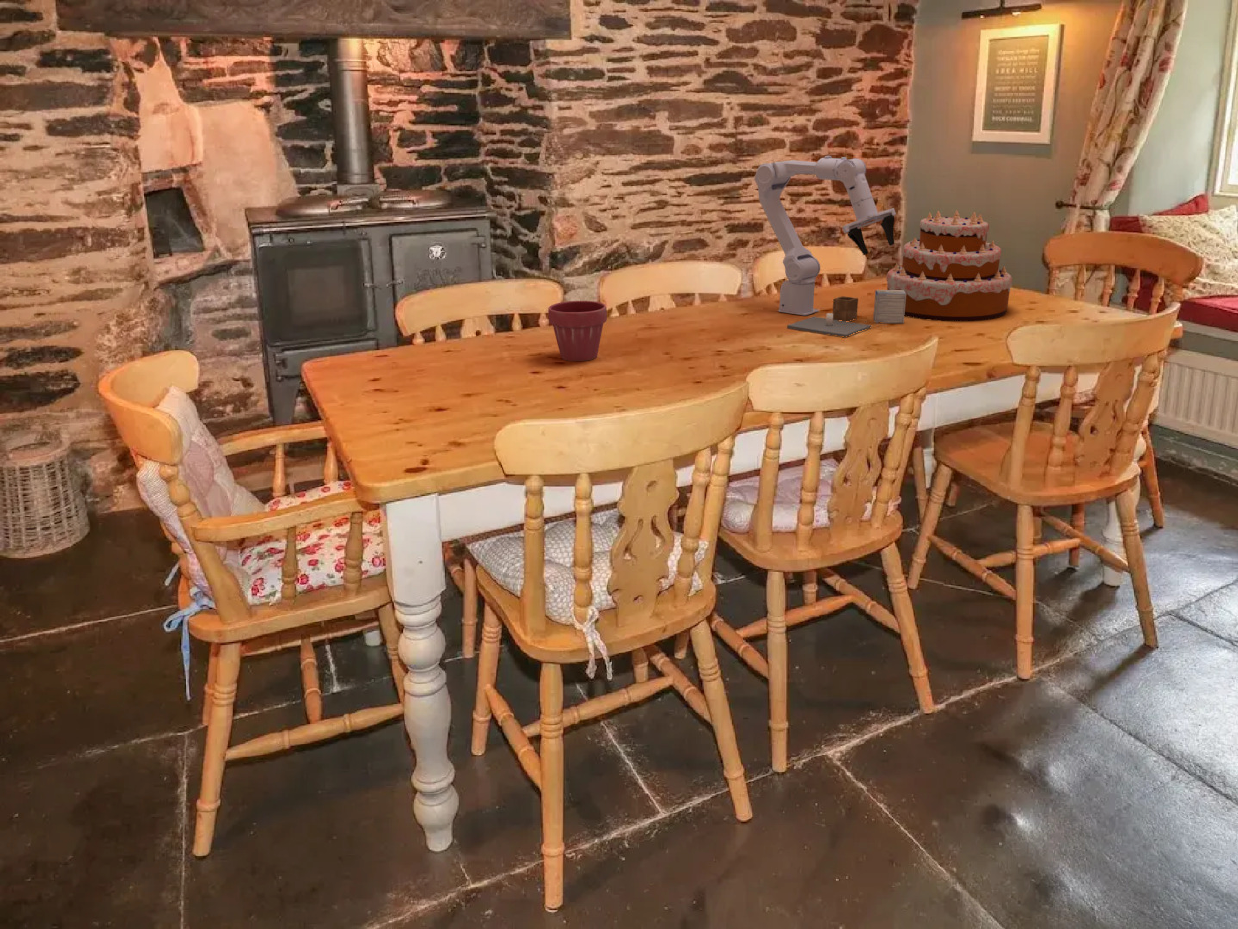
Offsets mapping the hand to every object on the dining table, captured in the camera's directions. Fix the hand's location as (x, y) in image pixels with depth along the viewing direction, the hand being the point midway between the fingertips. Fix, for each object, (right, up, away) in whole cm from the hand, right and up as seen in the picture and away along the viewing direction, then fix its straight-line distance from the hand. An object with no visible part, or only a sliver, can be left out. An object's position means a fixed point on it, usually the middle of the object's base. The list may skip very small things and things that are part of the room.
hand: (879, 249), depth 272 cm
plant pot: (-81, -32, -22) cm, 89 cm away
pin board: (-13, -21, +3) cm, 25 cm away
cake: (+26, -12, +25) cm, 38 cm away
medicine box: (+5, -18, +9) cm, 21 cm away
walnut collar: (-7, -17, +13) cm, 22 cm away
